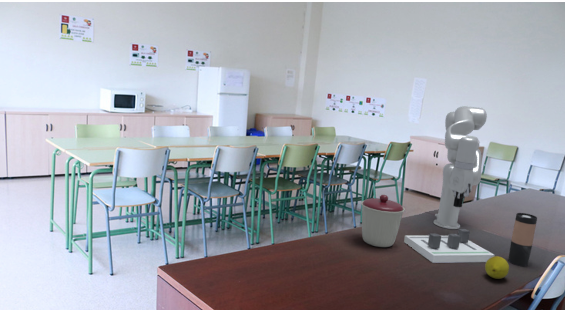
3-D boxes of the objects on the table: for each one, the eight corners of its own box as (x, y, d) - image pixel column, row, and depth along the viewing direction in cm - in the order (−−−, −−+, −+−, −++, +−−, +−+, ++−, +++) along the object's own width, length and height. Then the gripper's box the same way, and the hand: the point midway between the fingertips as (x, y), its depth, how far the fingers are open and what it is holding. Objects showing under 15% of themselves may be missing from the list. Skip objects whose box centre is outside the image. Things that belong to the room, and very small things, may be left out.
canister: (367, 232, 204) (373, 187, 200) (405, 243, 194) (412, 196, 190) (348, 242, 189) (355, 193, 186) (389, 254, 179) (396, 203, 176)
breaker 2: (446, 245, 187) (448, 233, 186) (454, 245, 187) (456, 233, 187) (451, 248, 184) (453, 236, 183) (458, 248, 185) (460, 236, 184)
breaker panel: (403, 242, 196) (404, 235, 195) (459, 242, 203) (460, 235, 203) (432, 262, 175) (433, 255, 174) (493, 261, 182) (494, 254, 182)
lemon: (489, 270, 172) (493, 250, 171) (511, 278, 167) (515, 258, 166) (477, 277, 165) (481, 256, 164) (499, 285, 160) (503, 264, 158)
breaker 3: (456, 240, 195) (458, 228, 194) (463, 240, 196) (465, 229, 195) (460, 242, 192) (462, 231, 191) (468, 242, 193) (469, 231, 192)
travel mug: (526, 261, 187) (535, 214, 183) (530, 268, 179) (539, 219, 176) (506, 257, 189) (514, 211, 186) (508, 263, 182) (517, 216, 178)
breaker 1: (427, 245, 184) (429, 233, 183) (435, 245, 185) (437, 233, 184) (431, 248, 181) (433, 236, 181) (439, 248, 182) (441, 236, 181)
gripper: (446, 161, 201) (440, 201, 204) (468, 169, 187) (460, 211, 190) (460, 162, 203) (454, 201, 206) (483, 169, 189) (476, 212, 192)
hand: (457, 206), depth 198 cm, fingers closed
